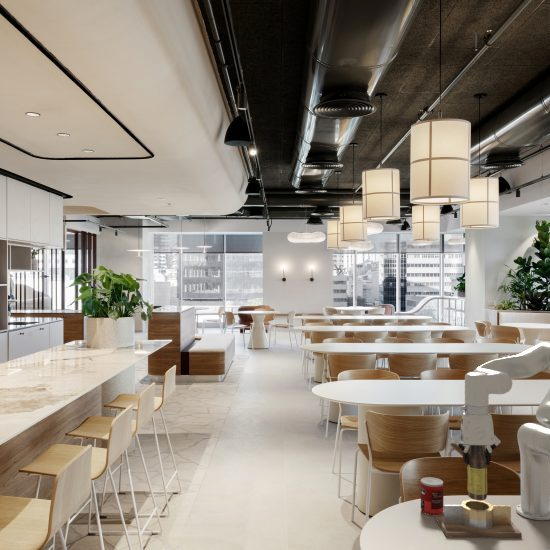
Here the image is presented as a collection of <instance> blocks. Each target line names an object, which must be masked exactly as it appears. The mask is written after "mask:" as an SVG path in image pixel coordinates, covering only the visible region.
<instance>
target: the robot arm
mask: <svg viewBox="0 0 550 550" xmlns="http://www.w3.org/2000/svg"><path fill="white" fill-rule="evenodd" d="M546 369H549V371H550V342H547V341H543V342H541V343H538V344H536V345H534V346H531V347H530V348H528V349H526V350H523V351H522V352H520V353H518V354H516V355H510V356H507V357H501V358H496V359H493V360H489V361H488V362H485V363H483V364H481V365H480V366H477V367H476V368H475V369H474V370H473V371H469V372H467V373H465V375H464V404H463V405H462V406H460V411H463V413H462V416H461V421H460V430H459V431H460V432H459V433H458V434H457V435H456V436H455V437H454V438H453V439H452V442H453V443H454V444H455V445H456V446H458V448H459V449H460V450H461V451H462V461H463V462H464V463H465V464H466V465H469V454H470V452H469V448H471V445H475V446H482V447H483V446H484V448H485V450H483V452H484V453H483V454H484V456H485V458H486V466H490V462H491V461H492V460H491V459H492V458H491V456H492V452H493V451H494V450H495V449H496V447H497V446H499V444H501V440H500V439H499V438H498V437H497V436H496V434H495V432H494V421H493V417H492V414H490V413H489V411H490V410H489V399H490V398H489V395H504V394H507V393H509V392H510V391H511V389H512V387H513V380H512V379H527V378H531V377H533V376H535V375H537V374H538V373H541V372H542V371H544V370H546ZM535 417H536V420H537V421H538V422H539V423H540V424H539V423H534V422H527V423H523V424H521V426H520V427H519V428H518V430H517V433H516V434H517V438H516V439H517V443H518V446H519V447H518V448H519V455H520V458H519V459H520V503H519V504H517V505H516V507H515V510H516V513H517V514H518V515H520V516H521V517H525V518H527V519H530V520H536V521H549V520H550V460H549V458H550V388H549V389H548V391H547V393H546V395H545V396H544V397H543V399H542V401H541V402H540V403H539V405H538V407H537V410H536V411H535ZM460 441H462V443H463V444H462V443H461V442H460Z"/></svg>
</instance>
